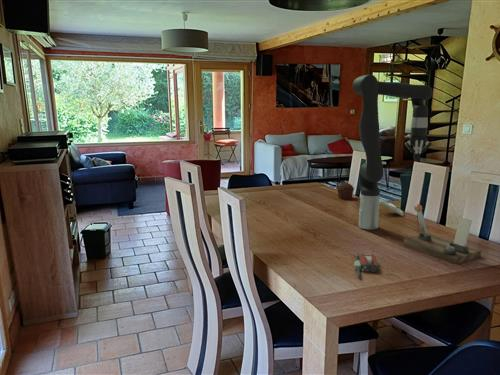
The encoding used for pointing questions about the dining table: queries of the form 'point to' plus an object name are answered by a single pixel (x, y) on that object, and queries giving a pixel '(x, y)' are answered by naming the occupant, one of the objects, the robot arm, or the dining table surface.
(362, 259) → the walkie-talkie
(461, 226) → the panel
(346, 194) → the muffin
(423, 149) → the robot arm
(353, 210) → the dining table surface
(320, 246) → the dining table surface
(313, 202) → the dining table surface
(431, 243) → the walnut switch panel
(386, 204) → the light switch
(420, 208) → the steel toggle lever
